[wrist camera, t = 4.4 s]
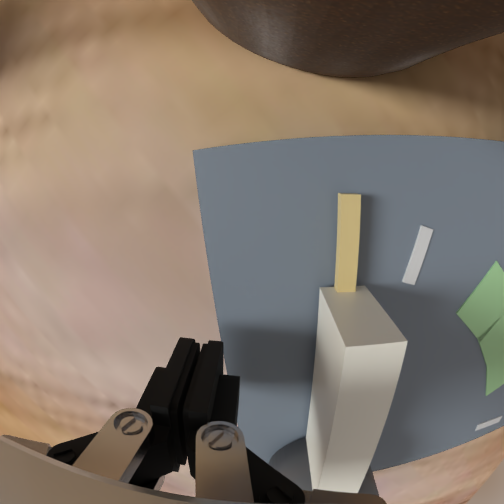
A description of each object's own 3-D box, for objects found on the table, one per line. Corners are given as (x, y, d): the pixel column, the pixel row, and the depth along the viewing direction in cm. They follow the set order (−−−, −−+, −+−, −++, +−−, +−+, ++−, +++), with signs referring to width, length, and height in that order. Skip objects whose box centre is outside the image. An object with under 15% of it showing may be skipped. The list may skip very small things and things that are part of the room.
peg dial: (355, 482, 15) (367, 533, 11) (267, 489, 15) (267, 543, 11) (416, 195, 11) (482, 213, 7) (267, 192, 11) (271, 208, 7)
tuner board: (509, 412, 15) (515, 420, 14) (252, 474, 17) (251, 487, 16) (558, 151, 11) (570, 152, 10) (198, 151, 12) (192, 150, 11)
